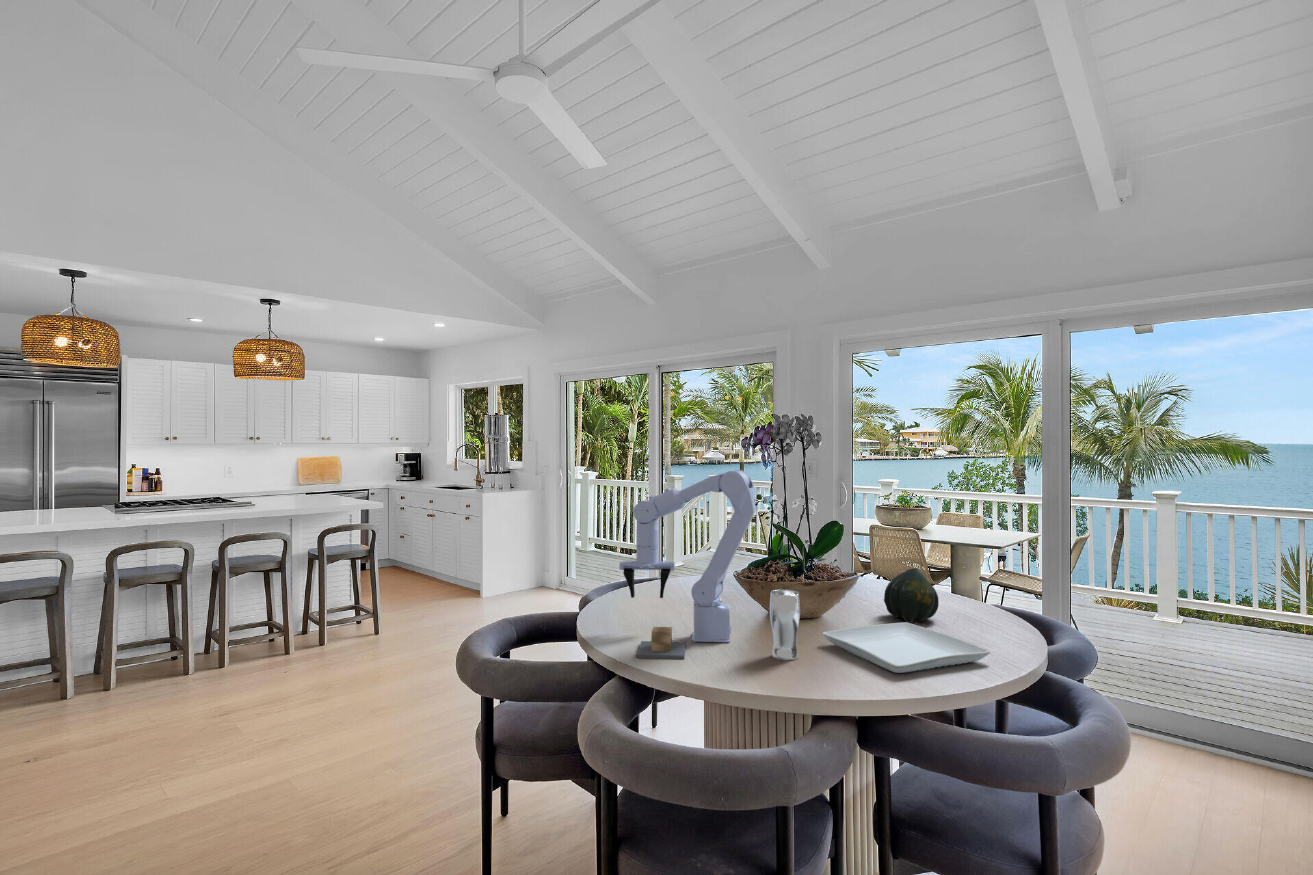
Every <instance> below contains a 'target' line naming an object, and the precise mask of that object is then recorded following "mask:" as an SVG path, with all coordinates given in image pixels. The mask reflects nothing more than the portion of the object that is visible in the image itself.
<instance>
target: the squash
mask: <svg viewBox="0 0 1313 875" xmlns="http://www.w3.org/2000/svg"><path fill="white" fill-rule="evenodd" d="M883 601H884V603H885V604H884V605H885V607H886V610H887V612H888V613H889V614H890V615H892V616H894V617H896V618H903V619H904V620H905V622H907V621H908V622H907V623H913V622H914V621H915V622H918V621H921V622H923V621H926V620H927V619H930V618H932V617H934V616H935V614H936V613H937V611H938V609H939V595H938V592H937V590H936V589H935V587H934V586H933V585H932V584H931V583H930V581H929V580H928V579H927V578H926V577H925V575H924V574H923V573H922V572H921V570H919V569H918V568H917V567H914V568H910V569H907V570H905V571H903V572H901V573H900V574H897V575H896V576H895V577H893V578H892V579H891V580H890V581H889V582H888V584H887V585H886V587H885V590H884V597H883ZM912 621H913V622H912Z"/></svg>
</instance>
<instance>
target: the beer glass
mask: <svg viewBox="0 0 1313 875" xmlns="http://www.w3.org/2000/svg"><path fill="white" fill-rule="evenodd" d="M769 598H770V599H769V619H770V624H771V625H770V626H771V631H772V638H773V647H772V651H771V652H772V653H771V656H772V658H773V659H774V660H778V661H783V662H784V661H788V662H789V661H796V660H798V658H799V653H798V648H797V639H798V638H797V637H798V631H799V624H800V617H801V607H800V606H801V605H800V604H801V603H800V602H801V601H800V592H798V591H797V590H793V589H792V590H791V589H774V590H771V591H770V597H769Z"/></svg>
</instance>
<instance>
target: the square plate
mask: <svg viewBox="0 0 1313 875" xmlns="http://www.w3.org/2000/svg"><path fill="white" fill-rule="evenodd" d="M822 635H823V636H824V638H826V640H827V641H829V642H830V643H831V644H833V645H835V646H837V647H839V648H842V649H843V650H845V651H847V652H848V653H850V652H851V653H850V654H853V655H855V656H857V657H859V658H862V659H864V660H865V661H868V660H869V661H868V662H870V661H871V663H873V664H875V665H877V666H878V667H881V668H883V669H885V670H887V671H890V672H893V673H897V674H903V673H910V672H911V673H912V672H918V671H923V670H924V669H925V670H931V669H936V668H935V667H938V668H941V667H942V666H944V667H949V666H948V665H951V666H954V665H955V664H957V665H961V664H962V663H963V664H967V663H968V662H969V663H973V662H974V663H975V662H977V661H980V660H982V659H984V658H985V657H987V656H988V655H989V654H990V653H991V651H990V650H988V649H986V648H983V647H980V646H978V645H975V644H973V643H969V642H967V641H964V640H962V639H959V638H957V637H953V636H951V635H948V634H945V633H942V632H939V631H935V630H933V629H930V628H927V627H923V626H920V625H916V624H913V623H912V622H907V621H905V622H894V623H892V622H891V623H881V624H880V623H879V624H872V625H871V624H869V625H862V626H861V625H860V626H856V627H855V626H854V627H847V628H841V629H835V630H828V631H823V632H822ZM955 666H956V665H955ZM930 668H931V669H930ZM942 668H943V667H942ZM917 670H918V671H917Z"/></svg>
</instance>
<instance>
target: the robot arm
mask: <svg viewBox="0 0 1313 875" xmlns="http://www.w3.org/2000/svg"><path fill="white" fill-rule="evenodd" d="M754 487H755V485H754V483H753V481H752V478H751V477H750V475H749V474H748V473H747V472H746V471H744V470H741V469H737V470H736V469H735V470H730V471H726V472H724V473H720V474H715V475H711V476H709V477H707V478H704V479H702V480H700V481H698V482H696V483H694V484H692V485H690V486H688V487H685V488H684V489H681V490H679V489H677V488H670V487H668V488H665V489H664V490H663V492H662V493H658V494H657V495H655V496H654V495H651V496H648V498H649V499H647V500H640V501H639V502H637V504H635V506H634V508H633V517H634V518H635V520H636V529H635V530H636V531H635V532H636V534H635V536H636V537H635V538H636V539H635V540H636V542H635V543H636V544H635V545H636V546H635V547H636V552H635V554H636V555H635V556H636V560H630V561H629V560H628V561H627V560H626V561H620V562H619V570H620V571H623V573H622V574H623V577H624V579H625V580H626V582H627V585H628V588H629V592H630V598H632V599H633V598H635V596H636V595H635V594H636V591H635V570H640V571H641V570H646V571H649V570H650V571H656V570H657V571H660V572H659V573H660V574H659V575H660V576H659V577H660V590H659V598H660V599H663V598H664V592H665V587H666V584H667V580H668V579H669V576H670V575H671V571H675V564H676V563H675V562H674V561H661V560H659V544H658V542H659V534H658V533H659V532H658V531H659V530H658V528H659V526H658V521H659V520H658V519H659V518H662V517H664V516H668V515H669V514H672V513H675V512H677V511H680V510H682V509H683V508H684V505H685V503H686V502H687V501H689V500H693V499H695V498H698V497H700V496H702V495H705V494H708V493H710V492H714V493H718V494H719V493H723V494H724V495H725V496H726V497H727V499H728V500H729V502H730V504H731V505H732V508H733V513H732V515H731V517H730V520H729V522H728V524H727V526H726V528H725V531H723V534H722V537H721V539H720V541H719V543H718V545H717V547H716V548H715V551H714V553H713V555H712V558H711V560H710V562H709V564H708V565H707V567H706V569H705V570H704V572H703V573H702V575H701V577H700V578H699V580H697V581H696V582H695V583H693V585H692V588H691V591H690V592H691V597H692V600H693V631H692V633H691V642H693V643H695V642H696V643H697V642H698V643H699V642H701V643H730V634H731V633H732V631H731V629H732V628H731V624H730V621H731V620H730V616H731V615H730V614H731V613H730V604H729V603H722V601H723V600H722V599H721V597H720V596H721V595H722V593H723V591H724V580H725V579H726V576H727V571H728V569H729V567H730V565H731V563H732V561H733V559H734V557H735V554H736V552H737V550H738V548H739V546H740V545H741V543H742V540H743V538H744V536H745V534H746V532H747V530H748V528H749V526H750V524H751V522H752V520H753V518H754V515H755V513H756V502H755V493H754V491H755V490H754V489H755V488H754Z"/></svg>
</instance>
